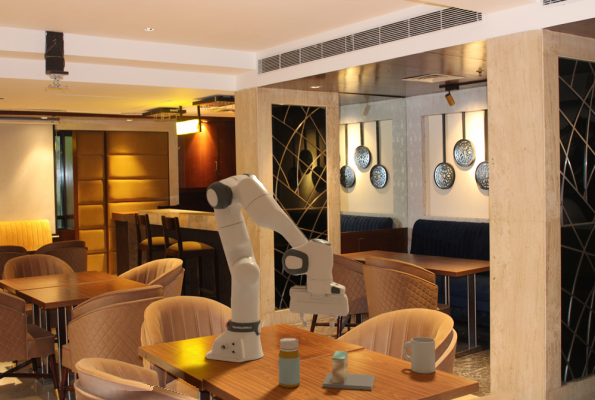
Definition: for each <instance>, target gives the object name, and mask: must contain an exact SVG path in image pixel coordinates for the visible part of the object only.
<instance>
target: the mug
mask: <svg viewBox="0 0 595 400" xmlns="http://www.w3.org/2000/svg"><path fill="white" fill-rule="evenodd" d="M407 347H410V355H411V356H410V355H408V354H407ZM402 349H403V350H402V353H403V357H404V359H406V360H407V361H410V369H411V371H412V372H414V373H417V374H433V373H435V371H436V340H435V339H434V338H432V337H427V336H415V337H413V338H411V339H410V341H406V342H405V343H404V344H403V347H402Z"/></svg>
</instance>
